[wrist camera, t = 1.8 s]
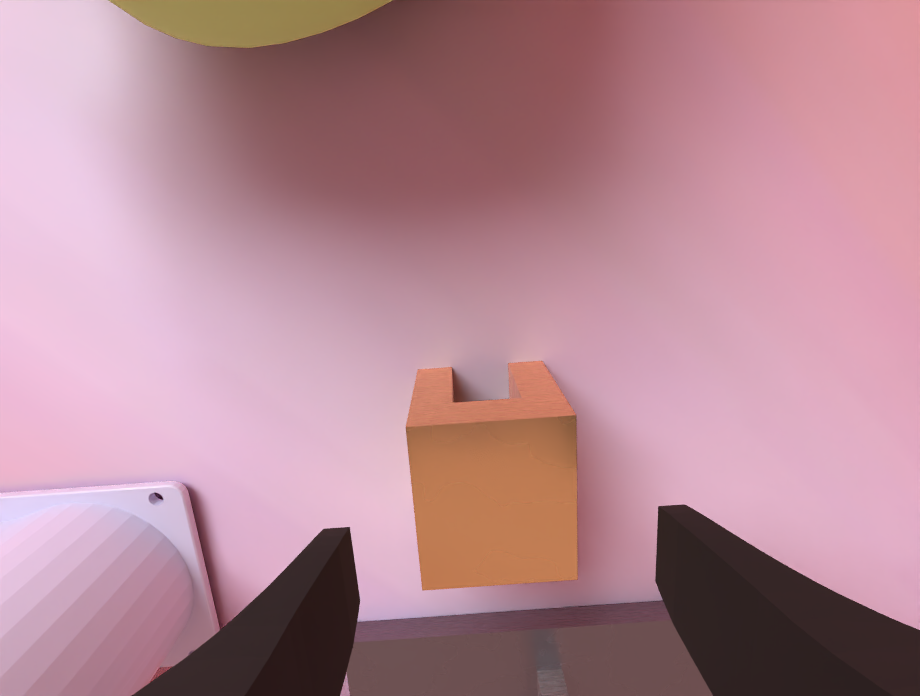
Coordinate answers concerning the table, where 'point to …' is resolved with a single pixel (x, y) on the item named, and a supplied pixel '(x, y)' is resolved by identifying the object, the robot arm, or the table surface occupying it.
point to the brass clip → (493, 481)
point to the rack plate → (526, 654)
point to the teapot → (246, 19)
